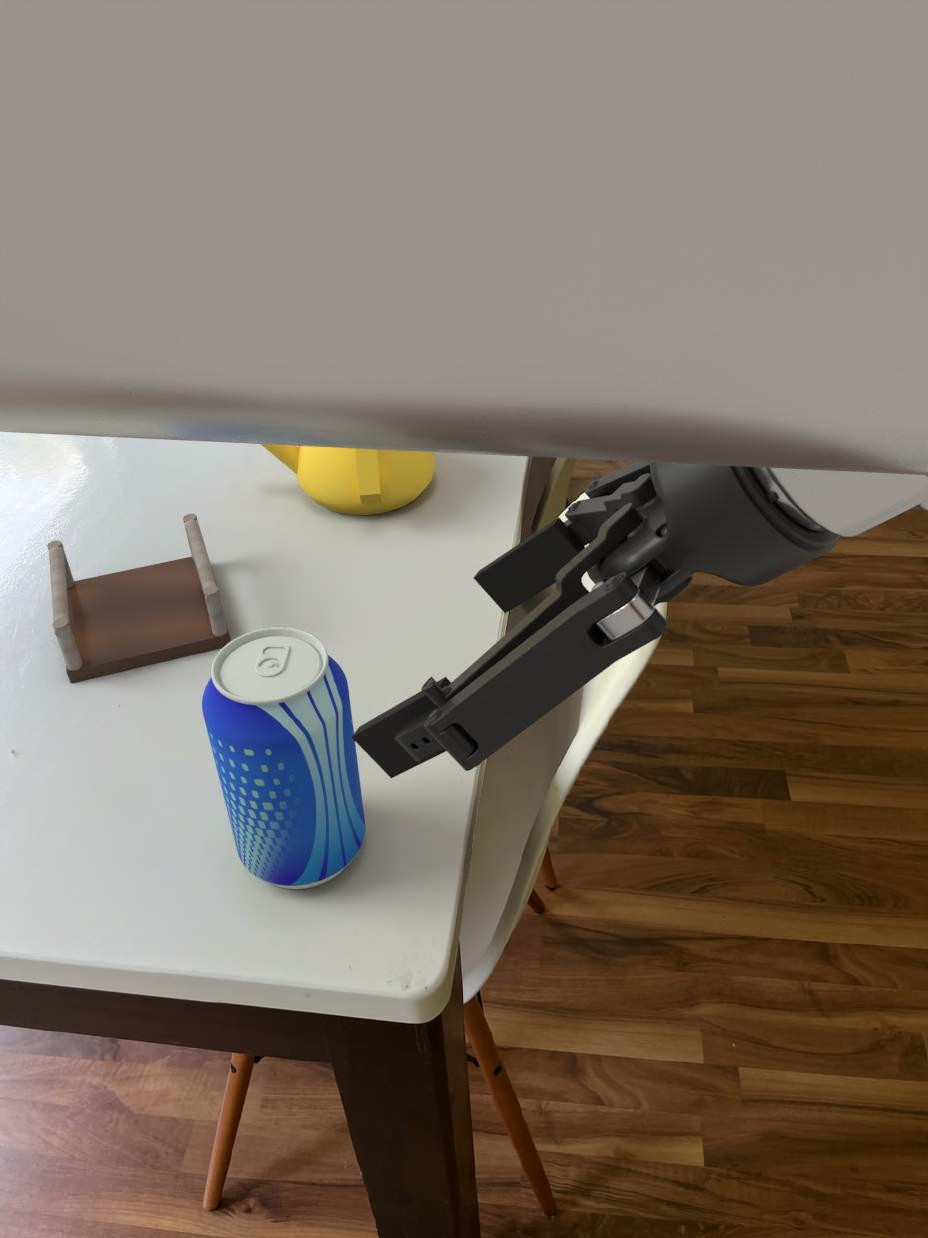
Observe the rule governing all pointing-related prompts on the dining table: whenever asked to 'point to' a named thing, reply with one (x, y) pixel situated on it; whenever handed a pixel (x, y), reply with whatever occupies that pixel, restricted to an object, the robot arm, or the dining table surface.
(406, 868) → the dining table surface
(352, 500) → the teapot
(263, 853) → the beer can
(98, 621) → the rail rack
